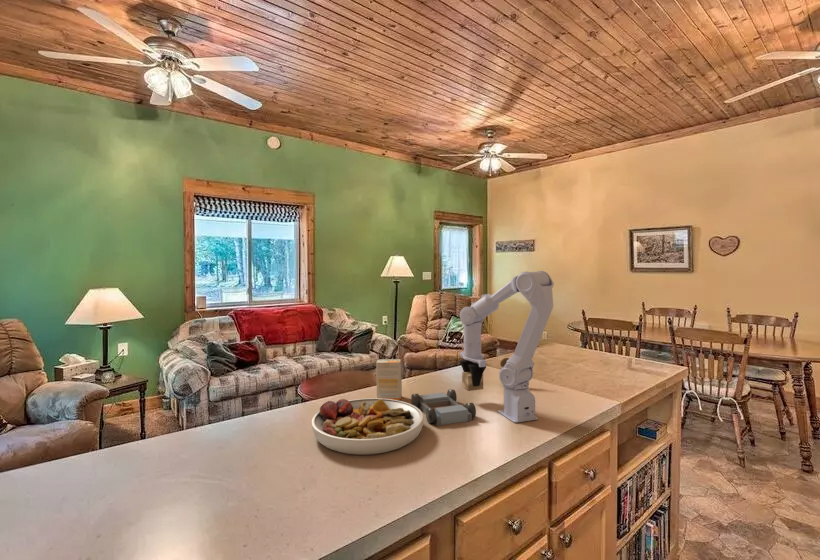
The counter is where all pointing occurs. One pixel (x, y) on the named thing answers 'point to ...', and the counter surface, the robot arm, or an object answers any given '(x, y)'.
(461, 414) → the car chassis
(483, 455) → the counter surface
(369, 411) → the bowl
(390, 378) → the supplement box
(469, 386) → the engine block
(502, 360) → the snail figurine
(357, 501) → the counter surface
